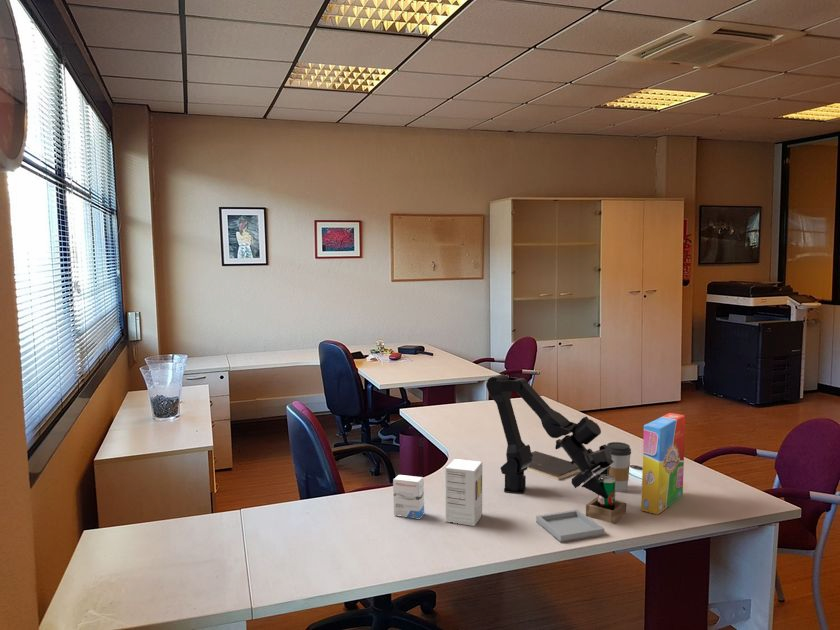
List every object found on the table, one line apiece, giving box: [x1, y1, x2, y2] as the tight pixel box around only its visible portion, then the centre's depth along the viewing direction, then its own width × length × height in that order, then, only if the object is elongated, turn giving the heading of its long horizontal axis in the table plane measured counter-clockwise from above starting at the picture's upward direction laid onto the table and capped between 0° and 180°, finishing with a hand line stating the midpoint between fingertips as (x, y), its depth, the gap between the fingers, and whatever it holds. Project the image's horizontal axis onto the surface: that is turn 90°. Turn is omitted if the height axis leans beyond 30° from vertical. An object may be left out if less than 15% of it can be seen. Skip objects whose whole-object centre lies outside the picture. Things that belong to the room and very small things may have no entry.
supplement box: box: [444, 458, 483, 527], centre depth 191 cm, size 10×9×17 cm
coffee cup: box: [606, 441, 632, 493], centre depth 213 cm, size 8×8×15 cm
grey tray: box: [535, 509, 605, 544], centre depth 183 cm, size 14×14×2 cm
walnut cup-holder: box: [585, 496, 628, 525], centre depth 193 cm, size 9×9×4 cm
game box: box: [640, 412, 686, 515], centre depth 200 cm, size 21×6×27 cm, turn 137°
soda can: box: [597, 475, 616, 511], centre depth 192 cm, size 5×5×12 cm
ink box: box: [392, 474, 425, 519], centre depth 194 cm, size 8×5×12 cm, turn 71°
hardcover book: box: [527, 450, 581, 481], centre depth 236 cm, size 16×23×2 cm
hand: (610, 495), depth 191 cm, fingers closed on soda can, 5 cm apart
